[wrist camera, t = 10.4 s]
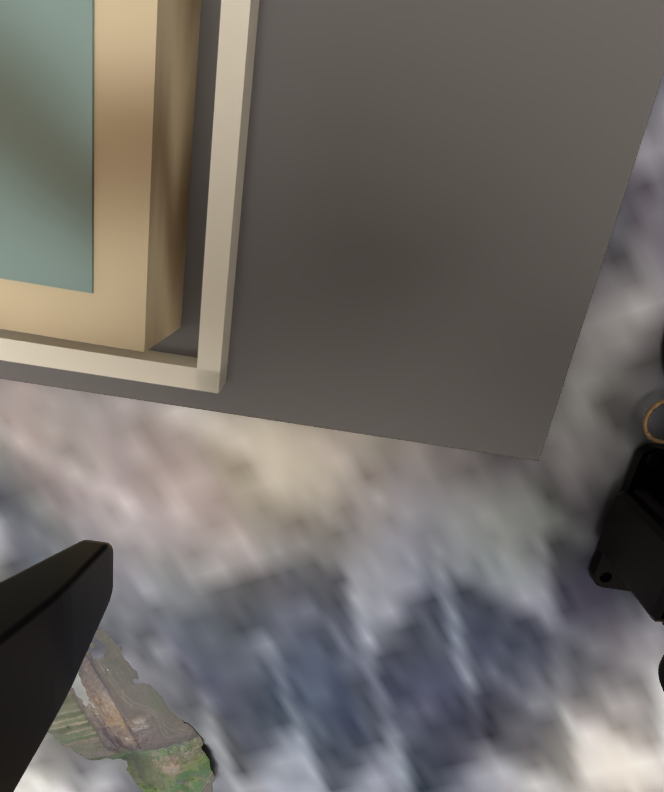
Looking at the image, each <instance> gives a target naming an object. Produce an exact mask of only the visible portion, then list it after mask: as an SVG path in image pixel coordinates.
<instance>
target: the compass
mask: <svg viewBox="0 0 664 792" xmlns="http://www.w3.org/2000/svg"><path fill="white" fill-rule="evenodd" d="M663 403H664V399H662V400H660V401H658V402H657V403H655V404H653V405H652V406H651V407H650V408H649V410H648V411H647V412H646V413H645V416H644V419H643V431H644V433H645V435H646V436H647V438H648V439H650V440H651V441H653V442H655V443H660V444H664V440H659V439H656V438H654V437H652V436H651V434H650V433H649V431H648V427H647V422H648V419H649V416H650V414H651V413H652V412H653V411H654V409H655V408H657V407H658V406H660V405H661V404H663Z"/></svg>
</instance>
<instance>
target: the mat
mask: <svg viewBox="0 0 664 792" xmlns="http://www.w3.org/2000/svg"><path fill="white" fill-rule="evenodd" d="M663 73H664V0H201V13H200V29H199V45H198V61H197V77H196V93H195V110H194V126H193V142H192V158H191V174H190V190H189V206H188V223H187V239H186V255H185V271H184V287H183V303H182V319H181V328H180V329H178V330H177V331H175V332H174V333H172V334H171V335H169V336H168V337H166V338H165V339H163V340H162V341H160V342H159V343H157V344H156V345H154V346H153V347H151V348H150V349H148V350H147V351H145V352H140V351H134V350H128V349H122V348H116V347H109V346H103V345H97V344H91V343H85V342H79V341H72V340H66V339H60V338H54V337H48V336H42V335H35V334H29V333H23V332H17V331H11V330H5V329H0V379H6V380H13V381H19V382H26V383H32V384H39V385H45V386H52V387H58V388H65V389H72V390H78V391H85V392H91V393H98V394H104V395H111V396H117V397H124V398H130V399H137V400H144V401H150V402H157V403H163V404H170V405H176V406H183V407H189V408H196V409H202V410H209V411H216V412H222V413H229V414H235V415H242V416H248V417H255V418H261V419H268V420H275V421H281V422H288V423H294V424H301V425H307V426H314V427H320V428H327V429H333V430H340V431H347V432H353V433H360V434H366V435H373V436H379V437H386V438H392V439H399V440H405V441H412V442H419V443H425V444H432V445H438V446H445V447H451V448H458V449H464V450H471V451H478V452H484V453H491V454H497V455H504V456H510V457H517V458H523V459H530V460H536V461H539V458H540V455H541V452H542V449H543V446H544V443H545V440H546V437H547V433H548V430H549V427H550V424H551V421H552V418H553V415H554V412H555V409H556V405H557V402H558V399H559V396H560V393H561V390H562V387H563V384H564V381H565V377H566V374H567V371H568V368H569V365H570V362H571V359H572V356H573V353H574V349H575V346H576V343H577V340H578V337H579V334H580V331H581V328H582V325H583V321H584V318H585V315H586V312H587V309H588V306H589V303H590V300H591V297H592V293H593V290H594V287H595V284H596V281H597V278H598V275H599V272H600V269H601V265H602V262H603V259H604V256H605V253H606V250H607V247H608V244H609V241H610V238H611V234H612V231H613V228H614V225H615V222H616V219H617V216H618V213H619V210H620V206H621V203H622V200H623V197H624V194H625V191H626V188H627V185H628V182H629V178H630V175H631V172H632V169H633V166H634V163H635V160H636V157H637V154H638V150H639V147H640V144H641V141H642V138H643V135H644V132H645V129H646V126H647V122H648V119H649V116H650V113H651V110H652V107H653V104H654V101H655V98H656V94H657V91H658V88H659V85H660V82H661V79H662V76H663Z"/></svg>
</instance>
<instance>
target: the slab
mask: <svg viewBox="0 0 664 792" xmlns="http://www.w3.org/2000/svg"><path fill="white" fill-rule="evenodd" d="M200 13H201V0H0V329H5V330H11V331H17V332H23V333H29V334H35V335H42V336H48V337H54V338H60V339H66V340H72V341H79V342H85V343H91V344H97V345H103V346H109V347H116V348H122V349H128V350H134V351H140V352H145V351H147V350H148V349H150V348H151V347H153V346H154V345H156V344H157V343H159V342H160V341H162V340H163V339H165V338H166V337H168V336H169V335H171V334H172V333H174V332H175V331H177V330H178V329H180V328H181V319H182V303H183V287H184V271H185V255H186V239H187V223H188V206H189V190H190V174H191V158H192V142H193V126H194V110H195V93H196V77H197V61H198V45H199V29H200Z"/></svg>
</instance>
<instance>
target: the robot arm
mask: <svg viewBox="0 0 664 792" xmlns="http://www.w3.org/2000/svg"><path fill="white" fill-rule="evenodd" d="M652 454H654V457H653V459H652V460H650V461H647V458H648V457H649V456H650V455H652ZM605 572H607V573H606V574H605V575H603V576H601V574H603V573H605ZM589 574H590V576H591V578H592V579H593V581H594V582H595V583H596V584H597V585H598V586H601V587H606V588H612V589H619V590H626V591H631V592H632V593H633V594H634V596H635V597H636V598H637V600H638V601H639V602H640V604H641V605H642V606H643V608H644V609H645V610H646V612H647V613H648V614H649V615H650V617H651V618H652V619H653V620H654V621H656V622H661V623H662V624H663V625H664V446H663V445H657V444H646V445H643V446H641V447H640V448H639V449H638V450H637V451H636V453H635V455H634V458H633V460H632V463H631V465H630V468H629V470H628V473H627V476H626V478H625V481H624V483H623V486H622V488H621V491H620V493H619V494H618V495H617V497H616V499H615V502H614V504H613V507H612V510H611V512H610V515H609V517H608V520H607V522H606V525H605V528H604V530H603V533H602V535H601V538H600V540H599V543H598V550H597V552H596V555H595V558H594V560H593V563H592V565H591V568H590V572H589ZM112 589H113V549H112V546H111V545H110V544H109V543H106V542H100V541H93V540H83V541H81V542H79V543H77V544H75V545H73V546H71V547H69V548H67V549H65V550H63V551H61V552H59V553H57V554H55V555H53V556H51V557H49V558H47V559H45V560H43V561H41V562H39V563H37V564H35V565H33V566H31V567H29V568H27V569H25V570H23V571H22V572H20V573H18V574H16V575H14V576H12V577H10V578H8V579H6V580H4V581H2V582H0V792H14V790H15V788H16V786H17V784H18V783H19V781H20V779H21V777H22V776H23V774H24V772H25V770H26V769H27V767H28V765H29V763H30V762H31V760H32V758H33V756H34V755H35V753H36V751H37V749H38V748H39V746H40V744H41V742H42V741H43V739H44V737H45V735H46V734H47V732H48V730H49V728H50V727H51V725H52V723H53V721H54V720H55V718H56V716H57V714H58V712H59V710H60V709H61V707H62V705H63V703H64V701H65V699H66V697H67V695H68V693H69V691H70V689H71V686H72V684H73V682H74V680H75V678H76V675H77V673H78V671H79V669H80V666H81V664H82V662H83V660H84V657H85V655H86V653H87V651H88V648H89V646H90V644H91V642H92V639H93V637H94V635H95V633H96V630H97V628H98V626H99V624H100V621H101V619H102V617H103V615H104V612H105V610H106V608H107V606H108V603H109V601H110V598H111V594H112ZM658 675H659V680H660V683H661V686H662V688H663V691H664V655H663V657H662V659H661V661H660V664H659V669H658Z"/></svg>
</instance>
